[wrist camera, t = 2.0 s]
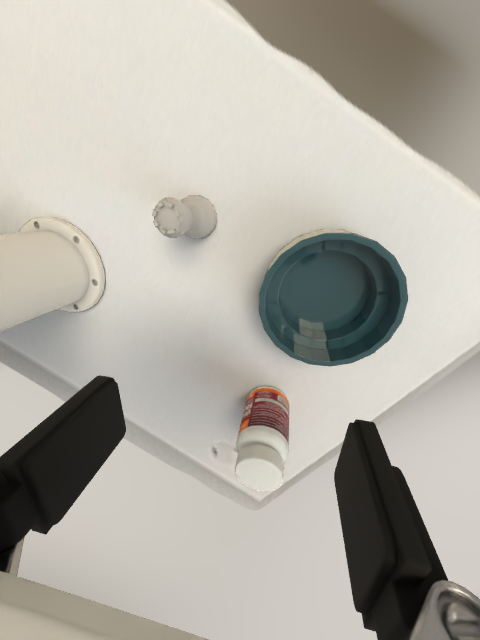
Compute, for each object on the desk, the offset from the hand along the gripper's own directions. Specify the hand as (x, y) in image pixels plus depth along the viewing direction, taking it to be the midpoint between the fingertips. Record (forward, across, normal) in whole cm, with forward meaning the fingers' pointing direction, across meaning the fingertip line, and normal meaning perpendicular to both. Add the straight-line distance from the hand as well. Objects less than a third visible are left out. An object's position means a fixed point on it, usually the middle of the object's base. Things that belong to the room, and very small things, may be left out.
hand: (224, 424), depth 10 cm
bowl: (+22, -6, 0) cm, 22 cm away
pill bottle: (+22, -2, +18) cm, 28 cm away
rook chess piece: (+22, +9, -7) cm, 24 cm away
